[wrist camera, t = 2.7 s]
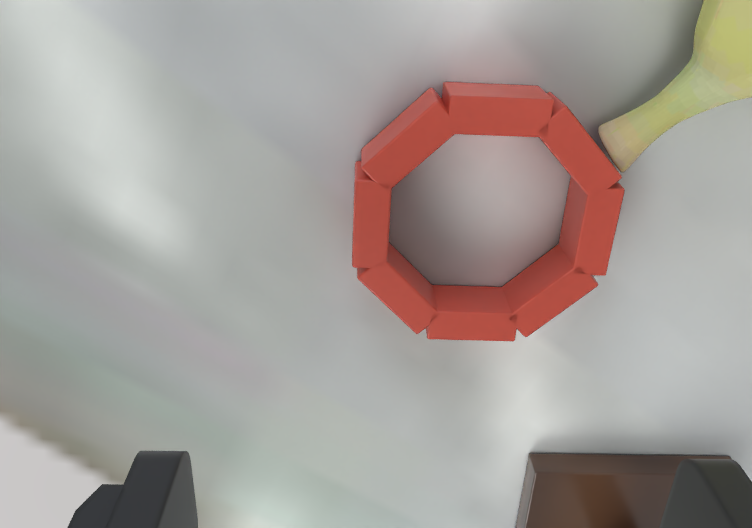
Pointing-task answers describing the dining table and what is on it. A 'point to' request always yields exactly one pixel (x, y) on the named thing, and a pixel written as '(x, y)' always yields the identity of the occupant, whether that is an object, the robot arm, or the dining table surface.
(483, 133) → the ring
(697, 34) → the banana
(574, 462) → the peg stand
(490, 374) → the dining table surface
